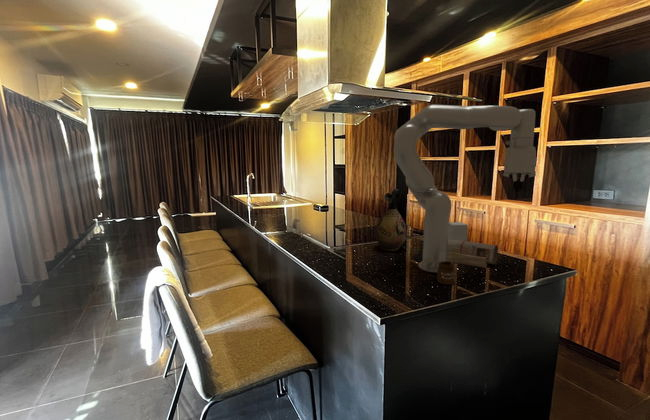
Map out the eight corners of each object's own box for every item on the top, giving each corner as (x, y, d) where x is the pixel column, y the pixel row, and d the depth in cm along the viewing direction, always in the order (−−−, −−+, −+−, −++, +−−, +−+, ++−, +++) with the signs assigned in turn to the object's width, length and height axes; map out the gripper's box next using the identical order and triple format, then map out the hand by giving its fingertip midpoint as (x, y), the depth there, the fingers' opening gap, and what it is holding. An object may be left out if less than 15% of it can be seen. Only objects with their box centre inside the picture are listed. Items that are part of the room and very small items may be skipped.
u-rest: (485, 267, 128) (485, 258, 128) (430, 259, 141) (431, 250, 140) (490, 259, 139) (491, 250, 138) (439, 251, 152) (439, 243, 151)
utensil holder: (434, 279, 117) (435, 247, 115) (450, 278, 117) (452, 247, 115) (441, 285, 111) (442, 252, 109) (458, 284, 111) (459, 251, 110)
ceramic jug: (398, 255, 148) (399, 191, 143) (369, 250, 157) (369, 190, 153) (412, 247, 161) (413, 188, 157) (385, 242, 170) (385, 187, 166)
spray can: (494, 269, 128) (444, 259, 140) (498, 259, 134) (449, 251, 146) (495, 251, 125) (444, 242, 137) (499, 242, 131) (449, 234, 143)
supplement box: (467, 250, 154) (468, 224, 152) (451, 250, 154) (452, 224, 153) (460, 246, 162) (462, 221, 160) (446, 246, 162) (447, 222, 160)
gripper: (497, 144, 121) (494, 191, 124) (545, 142, 112) (540, 193, 115) (500, 144, 127) (497, 190, 130) (545, 142, 118) (541, 191, 121)
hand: (517, 191), depth 122 cm, fingers closed
